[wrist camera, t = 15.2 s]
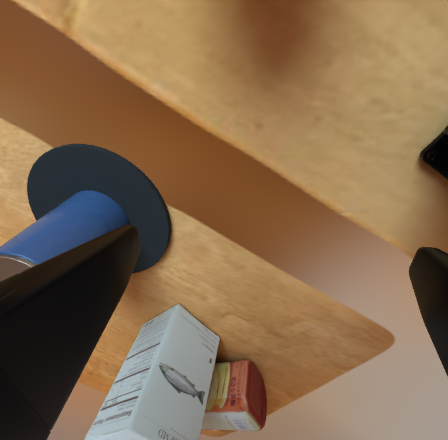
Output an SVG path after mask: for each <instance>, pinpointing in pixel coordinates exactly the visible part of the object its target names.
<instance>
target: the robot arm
mask: <svg viewBox="0 0 448 440" xmlns="http://www.w3.org/2000/svg"><path fill="white" fill-rule="evenodd" d="M430 152H433V154H432V156H430V157H427V155H428V154H429V153H430ZM420 158H421V159H422V160H423V161H424V162H426V163H427V164H428V165H429V166H431V167H432V168H433V169H435V170H436V171H437V172H438V173H440V174H441V175H442V176H444V177H445V178H446V179H448V126H447V127H446V128H445V131H443V132H442V133H441V134H440V135H439V136H438V137H437V138H436V139H435V140H433V141H432V142H431V143H430V144H429V145H428V146H427V147H426V148H424V149H423V151H422V152H421V154H420ZM140 251H141V242H140V238H139V233H138V229H137V227H136V226H133V225H123V226H121V227H118V228H116V229H114V230H112V231H110V232H107V233H105V234H103V235H101V236H99V237H96V238H94V239H92V240H90V241H88V242H86V243H83V244H81V245H79V246H77V247H75V248H72V249H70V250H68V251H66V252H64V253H61V254H59V255H57V256H55V257H53V258H51V259H48V260H46V261H44V262H42V263H40V264H37V265H35V266H33V267H31V268H29V269H26V270H24V271H22V272H21V273H18V274H15V275H13V276H11V277H9V278H7V279H4V280H2V281H0V440H47V438H48V436H49V434H50V430H52V428H53V426H54V424H55V422H56V421H57V419H58V417H59V415H60V413H61V411H62V409H63V407H64V405H65V403H66V402H67V400H68V398H69V396H70V394H71V392H72V390H73V388H74V386H75V384H76V383H77V381H78V379H79V377H80V375H81V373H82V371H83V369H84V367H85V365H86V363H87V362H88V360H89V358H90V356H91V354H92V352H93V350H94V348H95V346H96V344H97V343H98V341H99V339H100V337H101V335H102V333H103V331H104V329H105V327H106V325H107V324H108V322H109V320H110V318H111V316H112V314H113V312H114V310H115V308H116V306H117V305H118V303H119V301H120V299H121V297H122V295H123V293H124V291H125V289H126V287H127V285H128V282H129V280H130V277H131V275H132V272H133V269H134V267H135V264H136V262H137V259H138V257H139V254H140ZM409 276H410V279H411V283H412V286H413V289H414V292H415V296H416V299H417V302H418V305H419V309H420V312H421V315H422V318H423V320H424V323H425V326H426V328H427V330H428V333H429V335H430V337H431V340H432V342H433V344H434V346H435V348H436V351H437V353H438V355H439V358H440V360H441V362H442V364H443V367H444V369H445V371H446V373H447V376H448V254H447V253H445V252H443V251H441V250H440V249H438V248H432V247H421V248H419V249H418V250H417V252H416V254H415V256H414V259H413V261H412V263H411V265H410V268H409Z"/></svg>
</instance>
